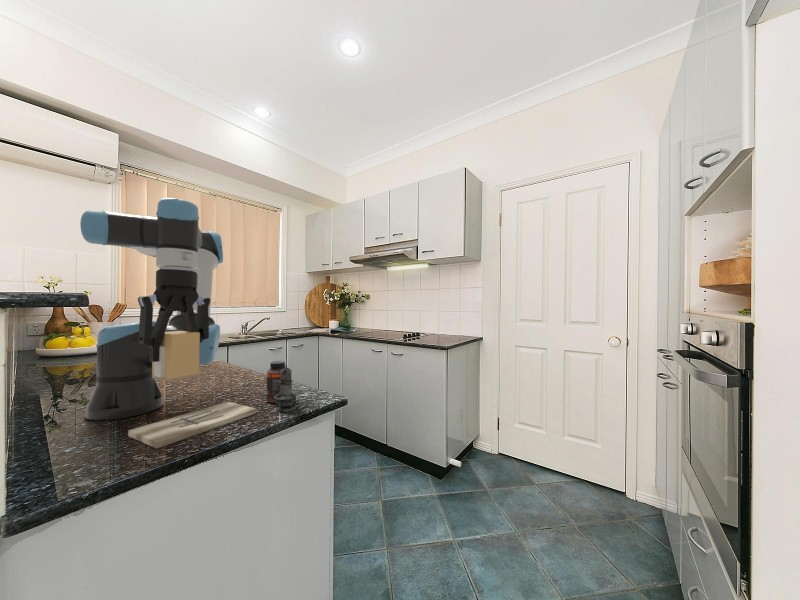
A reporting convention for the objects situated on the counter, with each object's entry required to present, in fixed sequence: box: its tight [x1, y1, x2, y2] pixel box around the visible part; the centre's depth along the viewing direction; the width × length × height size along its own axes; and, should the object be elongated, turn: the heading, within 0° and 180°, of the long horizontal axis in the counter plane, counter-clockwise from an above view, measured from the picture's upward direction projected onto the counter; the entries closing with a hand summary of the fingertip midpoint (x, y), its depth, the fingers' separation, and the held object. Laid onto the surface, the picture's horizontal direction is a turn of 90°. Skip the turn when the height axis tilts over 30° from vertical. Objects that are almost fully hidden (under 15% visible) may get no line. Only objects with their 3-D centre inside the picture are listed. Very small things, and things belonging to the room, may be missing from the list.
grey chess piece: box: [274, 364, 298, 413], centre depth 82 cm, size 6×6×12 cm
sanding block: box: [152, 331, 200, 383], centre depth 67 cm, size 8×6×10 cm
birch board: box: [127, 401, 257, 449], centre depth 72 cm, size 12×22×1 cm, turn 152°
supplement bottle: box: [265, 360, 286, 404], centre depth 89 cm, size 6×6×11 cm
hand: (175, 373), depth 67 cm, fingers closed on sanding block, 5 cm apart
